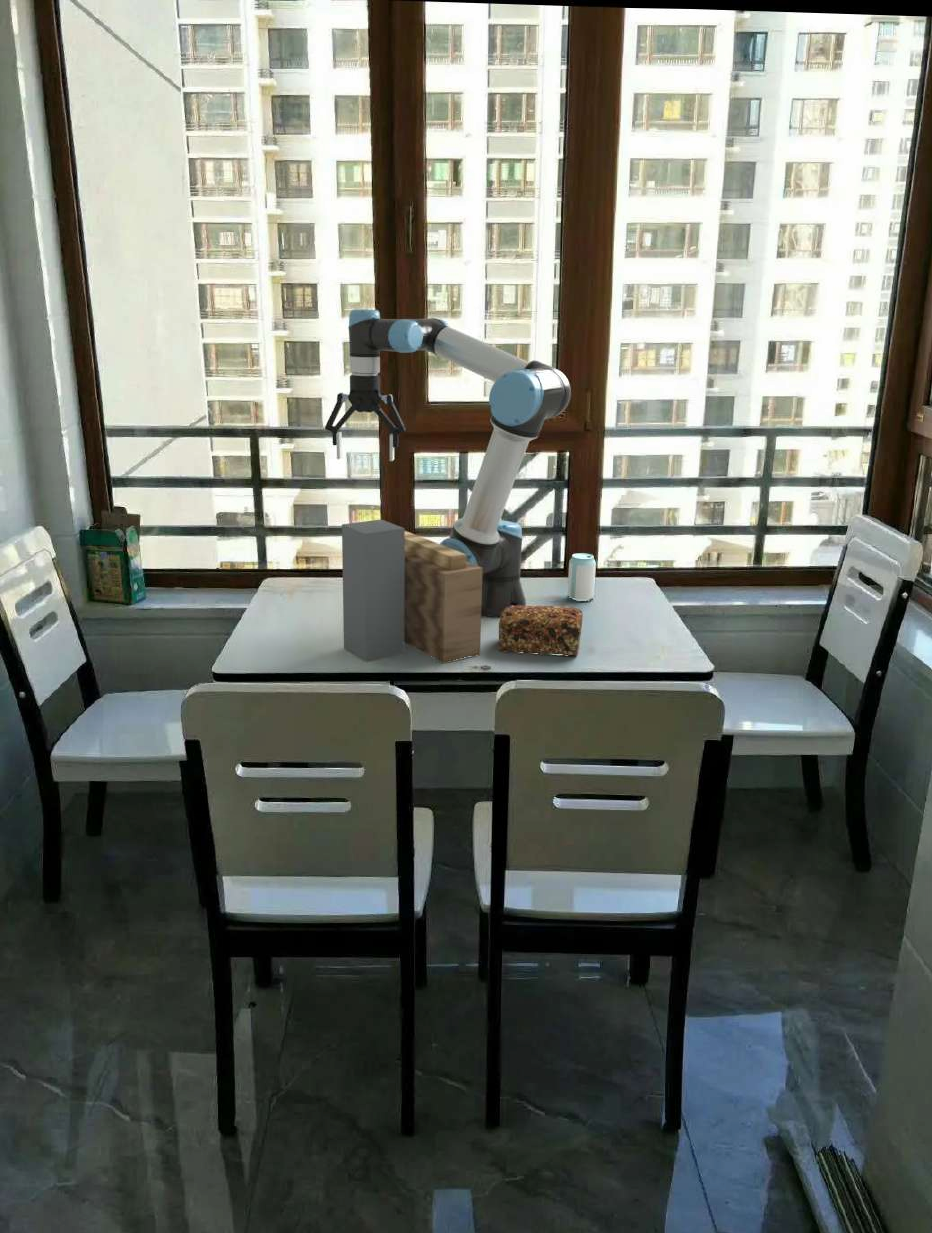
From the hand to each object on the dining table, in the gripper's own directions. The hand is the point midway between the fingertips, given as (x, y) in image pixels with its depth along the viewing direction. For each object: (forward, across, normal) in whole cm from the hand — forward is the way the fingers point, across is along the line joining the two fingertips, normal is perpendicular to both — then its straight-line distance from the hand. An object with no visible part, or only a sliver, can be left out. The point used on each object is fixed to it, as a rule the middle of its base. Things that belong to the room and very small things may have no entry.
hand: (365, 459), depth 255 cm
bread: (+37, -47, +33) cm, 68 cm away
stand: (+37, -9, +41) cm, 56 cm away
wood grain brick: (+37, -23, +36) cm, 56 cm away
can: (+37, -57, -7) cm, 68 cm away
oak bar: (+16, -19, +31) cm, 40 cm away
